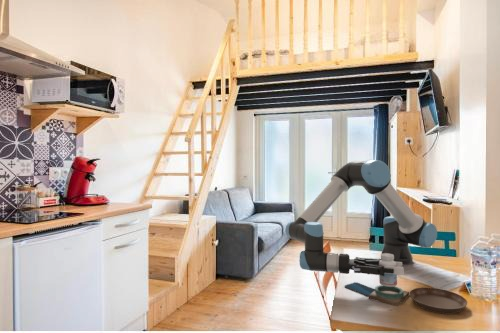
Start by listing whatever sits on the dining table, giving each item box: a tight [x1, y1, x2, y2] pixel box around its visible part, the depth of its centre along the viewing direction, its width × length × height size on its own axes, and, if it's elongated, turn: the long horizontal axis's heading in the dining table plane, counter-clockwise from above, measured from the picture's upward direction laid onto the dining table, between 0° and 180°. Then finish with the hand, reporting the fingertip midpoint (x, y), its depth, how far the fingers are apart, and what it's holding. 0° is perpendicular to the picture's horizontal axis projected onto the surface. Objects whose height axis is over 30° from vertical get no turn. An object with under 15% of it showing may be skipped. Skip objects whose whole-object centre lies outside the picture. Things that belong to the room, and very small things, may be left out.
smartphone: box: [344, 282, 375, 298], centre depth 127 cm, size 8×15×1 cm, turn 30°
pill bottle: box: [378, 253, 398, 287], centre depth 121 cm, size 6×6×11 cm
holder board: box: [367, 284, 410, 307], centre depth 121 cm, size 13×10×3 cm
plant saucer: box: [409, 287, 468, 315], centre depth 113 cm, size 18×18×3 cm
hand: (402, 268), depth 119 cm, fingers closed on pill bottle, 6 cm apart
